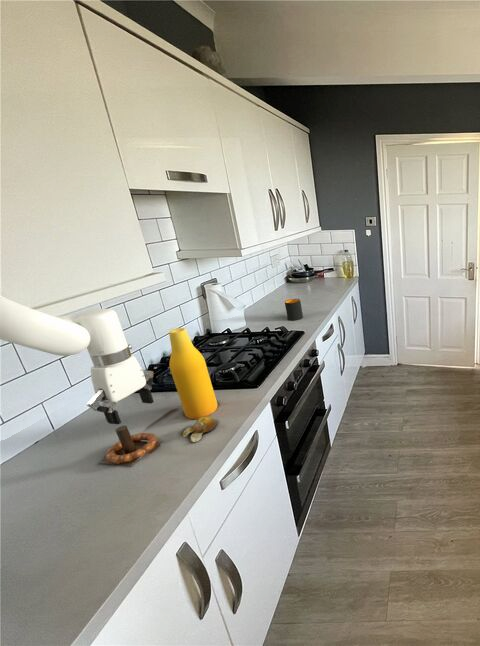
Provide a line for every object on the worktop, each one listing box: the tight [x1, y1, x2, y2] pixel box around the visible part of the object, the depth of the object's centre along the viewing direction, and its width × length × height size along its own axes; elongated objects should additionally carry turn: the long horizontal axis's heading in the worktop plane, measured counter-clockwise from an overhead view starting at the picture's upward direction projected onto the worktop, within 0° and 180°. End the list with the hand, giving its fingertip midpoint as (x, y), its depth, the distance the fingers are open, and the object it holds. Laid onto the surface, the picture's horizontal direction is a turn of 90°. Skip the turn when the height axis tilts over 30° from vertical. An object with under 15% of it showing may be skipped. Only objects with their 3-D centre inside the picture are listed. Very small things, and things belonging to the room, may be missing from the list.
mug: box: [284, 298, 304, 322], centre depth 198 cm, size 8×12×10 cm
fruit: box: [182, 416, 217, 443], centre depth 104 cm, size 8×8×4 cm
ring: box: [104, 432, 159, 464], centre depth 96 cm, size 11×11×2 cm
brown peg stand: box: [100, 425, 161, 467], centre depth 94 cm, size 9×9×9 cm
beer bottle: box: [168, 327, 218, 420], centre depth 109 cm, size 9×9×29 cm
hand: (132, 412), depth 95 cm, fingers open, 9 cm apart
